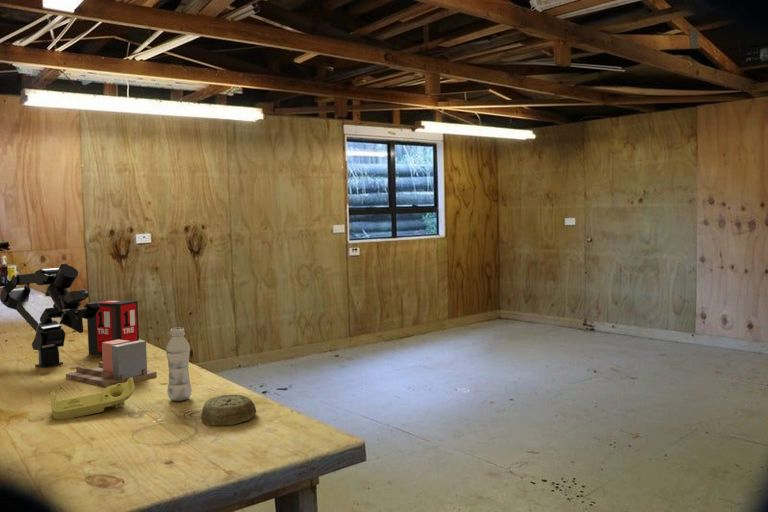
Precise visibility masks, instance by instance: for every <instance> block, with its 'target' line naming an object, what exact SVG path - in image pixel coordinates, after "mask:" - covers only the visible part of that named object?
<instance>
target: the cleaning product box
mask: <svg viewBox="0 0 768 512" xmlns="http://www.w3.org/2000/svg"><path fill="white" fill-rule="evenodd" d="M87 303H98V304H99V306H100V309H99V311H98V312H97V314H96V315H95V317H93V318H89V319H86V321H87V322H86V323H87V324H86V325H87V342H88V343H87V344H88V346H87V348H88V355H89V356H91V355H93V356H102V343H103V342H108V341H113V340H118V339H120V340H127V341H130V342H133V341H138V340H140V331H139V309H138V308H139V307H138V306H139V305H138V300H123V299H122V300H121V299H120V300H119V299H102V300H101V299H100V300H95V301H88V302H86V304H87Z"/></svg>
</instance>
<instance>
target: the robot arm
mask: <svg viewBox="0 0 768 512" xmlns="http://www.w3.org/2000/svg"><path fill="white" fill-rule="evenodd" d="M78 276H79V271H78V270H77V268H75V267H73V266H71V265H68V263H61V264H60V266H59V267H53V268H51V267H50V268H41V269H38V270H35V272H33V273H32V272H31V273H18V274H16V273H15V274H13V275H12V276H11V279H10V280H9V281H8V282H7V283H6V284H5V285H4V286H3V287H2V290H1V291H0V302H1V304H3V305H4V306H5V307H7V308H8V309H12V310H15V311H16V312H18V314H19V315H20V316H21V317H22V318H23V319H24V320H25V321H26V323H28V325H30V327H31V328H32V330H34V331H35V335H34V338H33V341H32V343H31V347H32V350H34V351H38V363H37V364H34V366H35V367H39V368H40V367H41V368H50V367H55V366H59V365H62V364H64V362H63V361H60V351H59V350H60V349H59V348H60V347H64V344H65V341H66V332H65V330H64V329H63V328H62V327H63V326H62V325H64V326H65V327H68V328H70V329H72V330H73V331H75V332H76V333H79V334H83V333H84V324H83V322H84V321H83V319H85V320H87V319H89V318H93V317H95V315H96V314H97V312H98V311H99V309H100V306H99V304H98V303H87V302H86V303H85V305H84V307H80V306H81V305H82V301H85V300H86V299H87V298H89V297H90V294H89V291H88V290H87V289H86V288H81V289H80V290H72V291H71V290H70V291H69V288H71V287H72V286H73V284H74V282H75V281H76V278H77V277H78ZM30 284H36V286H37V285H39V286H40V287H41V286H42V287H43V286H48V287H47V288H46V292H45V293H44V294H45V295H44V296H45V297H50V298H51V301H52V302H53V305H52V307H46V308H45V309H44V311H43V312H42V314H41V312H39V310H38V309H37V308H36V307H34V305H33V304H32V303H31V302H30V301H29V299H30V295H31V294H30V293H31V292H32V290H31V288H30ZM17 286H24V287H19V288H18V287H17ZM58 318H59V319H60V321H59V322H58V321H57V320H53V319H58Z"/></svg>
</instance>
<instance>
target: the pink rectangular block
mask: <svg viewBox="0 0 768 512" xmlns="http://www.w3.org/2000/svg"><path fill="white" fill-rule="evenodd" d="M128 342H130V341H127V340H120V339H118V340H113V341H108V342H103V343H102V357H101V358H102V362H103V371H107V372H112V373H113V363H112V346H113V345H118V344H123V343H128Z"/></svg>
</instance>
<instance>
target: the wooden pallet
mask: <svg viewBox="0 0 768 512" xmlns="http://www.w3.org/2000/svg"><path fill="white" fill-rule="evenodd" d="M75 368H76V371H73V372H69V373H66V374H65V378H66V379H67V380H71V381H77V382H81V383H86V384H90V385H96V386H100V387H104V388H107V387H109V386H111V385H116V384H118V383H121V384H122V383H126V382H127V380H128V379H129V378H128V379H125V375H121V380H120V381H118V380H113V373H112V372H107V371H103V361H99V362H98V366H95V367H91V368H90V367H85V366H76V367H75ZM157 376H158V374H157V371H155V370H150V369H149V370H148V368H147V369H145V370H143V375H139V376H136V377H133V381H134V383H137V382H141V381H144V380H148V379H151V378H155V377H157Z"/></svg>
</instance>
